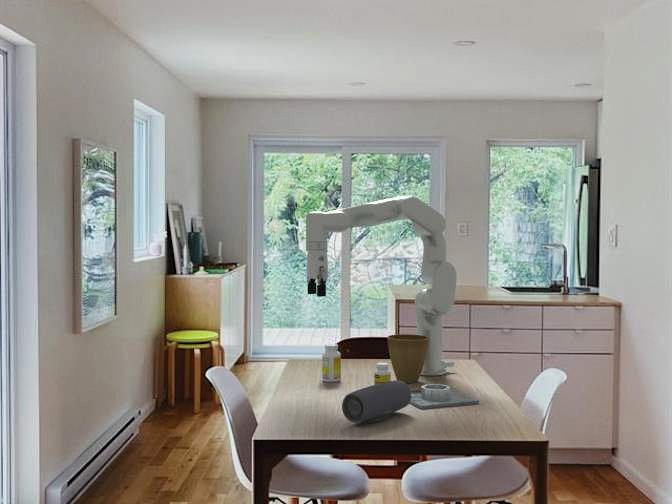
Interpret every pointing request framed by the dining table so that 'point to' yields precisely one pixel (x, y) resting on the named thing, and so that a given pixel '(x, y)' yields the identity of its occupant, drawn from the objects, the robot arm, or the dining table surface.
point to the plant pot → (407, 355)
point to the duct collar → (439, 397)
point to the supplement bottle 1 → (331, 363)
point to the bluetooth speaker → (376, 401)
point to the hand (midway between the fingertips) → (316, 295)
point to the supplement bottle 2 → (382, 373)
